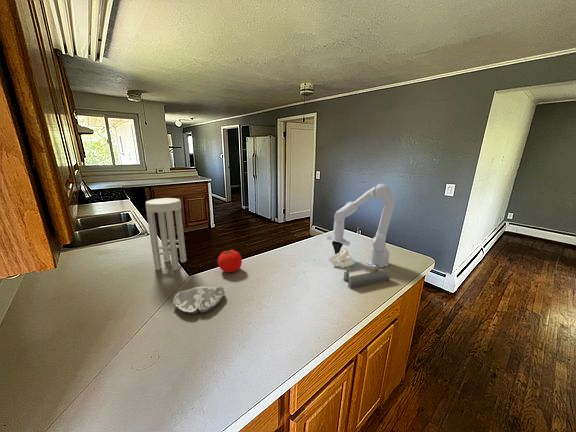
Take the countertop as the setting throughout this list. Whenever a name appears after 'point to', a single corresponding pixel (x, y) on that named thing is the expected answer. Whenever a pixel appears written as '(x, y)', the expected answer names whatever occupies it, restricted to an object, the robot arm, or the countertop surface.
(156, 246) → the stool
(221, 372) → the countertop surface
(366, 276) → the housing bracket
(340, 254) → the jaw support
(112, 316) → the countertop surface
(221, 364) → the countertop surface
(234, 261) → the tomato
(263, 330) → the countertop surface
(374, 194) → the robot arm
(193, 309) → the brain slice
